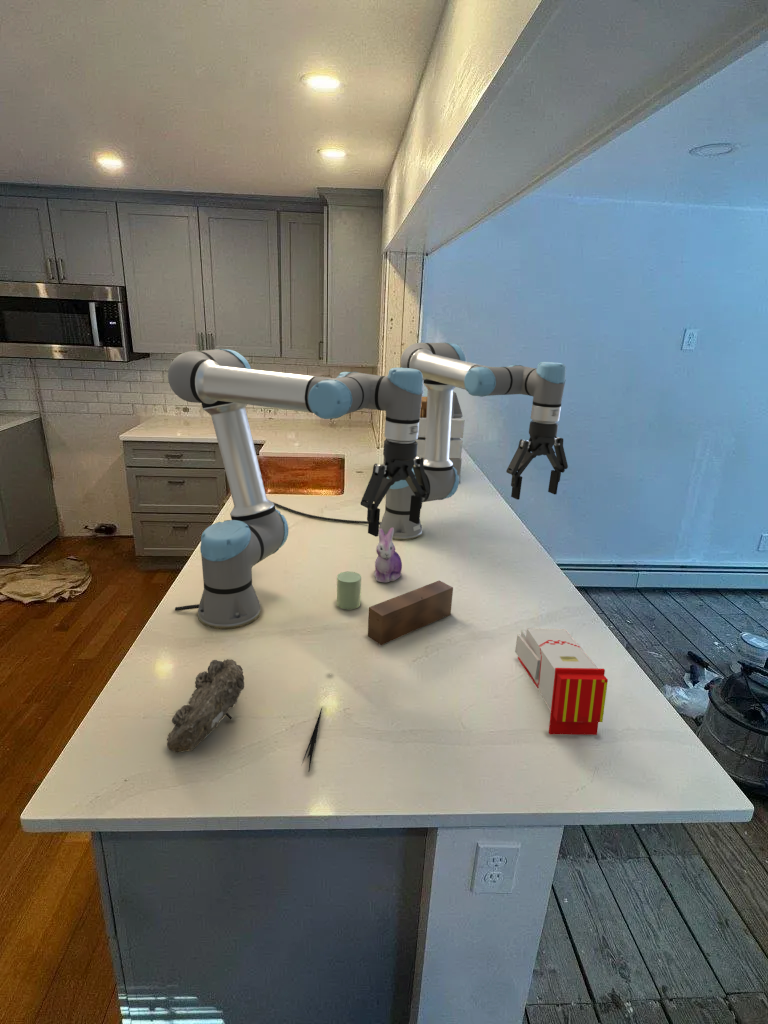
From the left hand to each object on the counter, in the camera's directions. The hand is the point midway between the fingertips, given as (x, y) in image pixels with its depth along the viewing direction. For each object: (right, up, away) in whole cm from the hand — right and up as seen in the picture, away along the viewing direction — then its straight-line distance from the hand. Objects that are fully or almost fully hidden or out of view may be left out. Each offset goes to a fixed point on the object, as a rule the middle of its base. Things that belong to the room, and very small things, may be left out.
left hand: (394, 528), depth 134 cm
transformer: (+15, +23, +141) cm, 144 cm away
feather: (-15, -36, -25) cm, 46 cm away
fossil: (-35, -35, -25) cm, 56 cm away
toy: (+33, -34, -13) cm, 49 cm away
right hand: (+40, +8, +27) cm, 50 cm away
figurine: (-1, -15, +34) cm, 37 cm away
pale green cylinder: (-12, -21, +18) cm, 30 cm away
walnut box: (+4, -25, +9) cm, 27 cm away
